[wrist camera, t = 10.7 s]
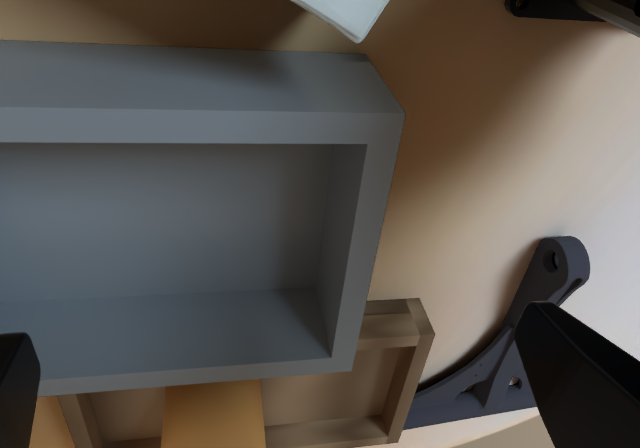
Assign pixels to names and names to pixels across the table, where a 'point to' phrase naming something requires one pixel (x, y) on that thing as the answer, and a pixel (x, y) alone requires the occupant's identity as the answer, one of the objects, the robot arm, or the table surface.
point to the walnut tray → (292, 394)
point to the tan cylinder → (214, 415)
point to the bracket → (504, 345)
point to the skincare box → (346, 14)
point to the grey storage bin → (189, 210)
